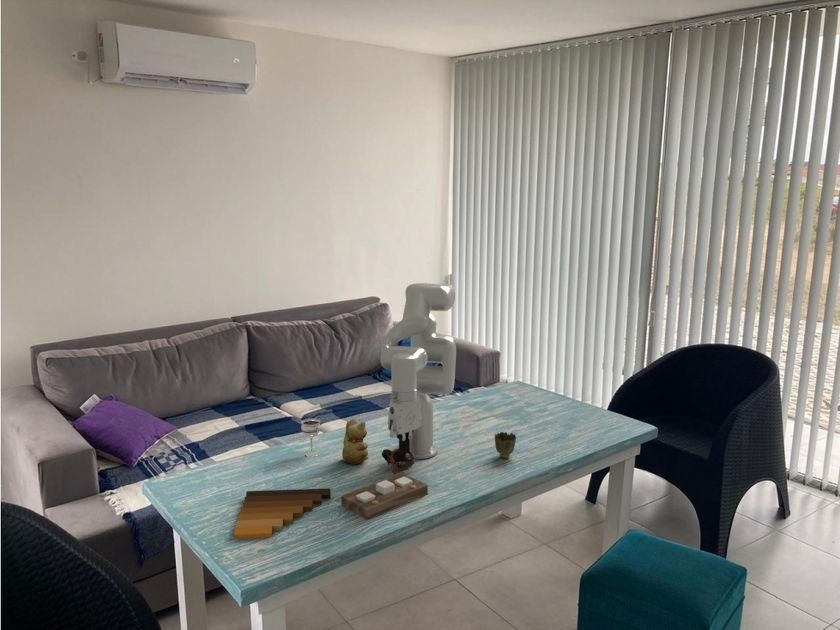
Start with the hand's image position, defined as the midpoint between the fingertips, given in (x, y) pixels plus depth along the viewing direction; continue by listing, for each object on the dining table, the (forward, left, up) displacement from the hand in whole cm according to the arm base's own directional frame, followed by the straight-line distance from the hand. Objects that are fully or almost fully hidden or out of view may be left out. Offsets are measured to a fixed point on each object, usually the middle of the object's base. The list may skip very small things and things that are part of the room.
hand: (404, 450), depth 215 cm
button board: (0, -8, -13) cm, 16 cm away
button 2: (0, -1, -12) cm, 12 cm away
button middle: (0, -8, -11) cm, 14 cm away
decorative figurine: (-28, +2, -14) cm, 31 cm away
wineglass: (-43, -5, -14) cm, 45 cm away
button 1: (0, -16, -12) cm, 20 cm away
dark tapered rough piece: (+4, +43, -14) cm, 45 cm away
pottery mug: (-14, +10, -14) cm, 22 cm away
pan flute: (-11, -36, -14) cm, 40 cm away
